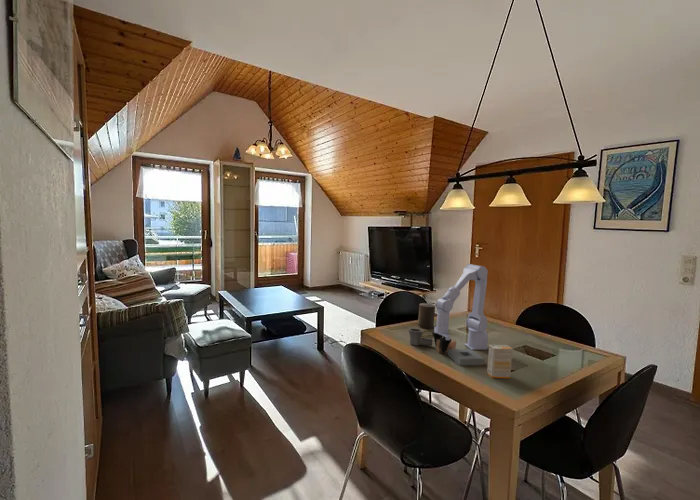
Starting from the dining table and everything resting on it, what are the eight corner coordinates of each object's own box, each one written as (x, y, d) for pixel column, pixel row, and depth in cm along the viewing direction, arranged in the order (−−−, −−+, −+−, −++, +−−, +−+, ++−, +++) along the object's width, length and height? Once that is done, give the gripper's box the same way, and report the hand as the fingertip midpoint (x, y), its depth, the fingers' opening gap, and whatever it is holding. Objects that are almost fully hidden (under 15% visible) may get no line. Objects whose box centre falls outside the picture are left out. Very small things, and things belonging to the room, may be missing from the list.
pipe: (432, 348, 172) (433, 333, 172) (407, 345, 175) (408, 330, 174) (431, 344, 178) (432, 329, 178) (407, 341, 181) (408, 327, 180)
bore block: (470, 354, 167) (470, 348, 167) (483, 365, 155) (484, 358, 155) (447, 355, 165) (448, 349, 164) (459, 365, 153) (460, 359, 153)
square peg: (442, 350, 170) (443, 339, 170) (445, 353, 167) (446, 341, 166) (435, 350, 170) (436, 339, 169) (438, 353, 166) (439, 341, 166)
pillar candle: (428, 329, 203) (430, 305, 202) (414, 325, 210) (416, 302, 209) (436, 327, 210) (438, 303, 209) (422, 323, 217) (424, 300, 216)
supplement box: (504, 373, 147) (507, 344, 146) (510, 379, 142) (513, 348, 141) (486, 373, 146) (488, 343, 145) (491, 378, 142) (493, 348, 141)
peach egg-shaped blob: (452, 348, 175) (453, 338, 174) (457, 352, 169) (458, 342, 169) (442, 348, 174) (442, 339, 173) (447, 352, 168) (447, 342, 168)
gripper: (429, 318, 174) (427, 344, 175) (441, 327, 159) (439, 355, 160) (442, 318, 175) (440, 343, 176) (455, 327, 160) (453, 354, 162)
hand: (440, 349), depth 168 cm, fingers open, 6 cm apart
